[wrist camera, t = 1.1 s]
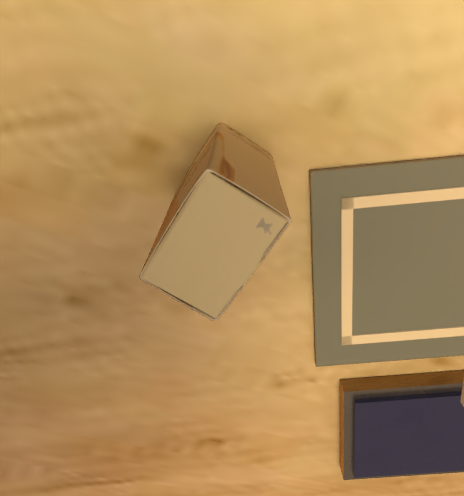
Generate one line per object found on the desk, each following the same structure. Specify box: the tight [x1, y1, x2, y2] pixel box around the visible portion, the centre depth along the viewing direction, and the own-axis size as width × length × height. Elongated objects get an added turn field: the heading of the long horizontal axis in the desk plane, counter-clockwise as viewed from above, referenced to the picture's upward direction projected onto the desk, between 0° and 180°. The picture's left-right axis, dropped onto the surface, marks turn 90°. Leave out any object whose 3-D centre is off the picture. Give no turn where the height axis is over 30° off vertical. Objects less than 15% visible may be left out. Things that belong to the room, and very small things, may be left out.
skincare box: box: [139, 123, 291, 321], centre depth 24 cm, size 6×4×12 cm
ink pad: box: [340, 370, 464, 480], centre depth 37 cm, size 12×10×2 cm
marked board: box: [309, 155, 464, 367], centre depth 32 cm, size 16×16×1 cm
